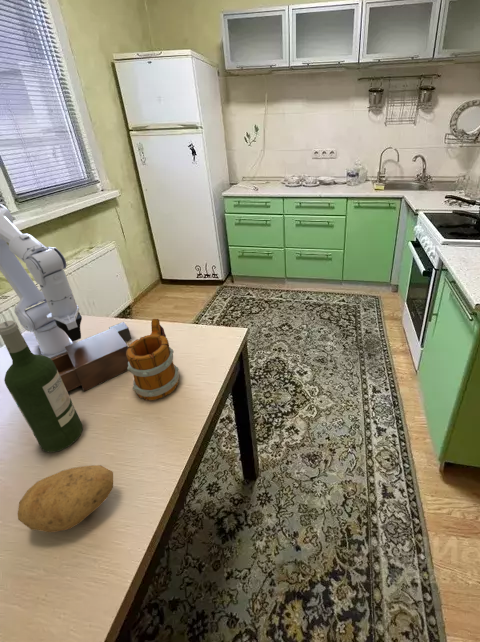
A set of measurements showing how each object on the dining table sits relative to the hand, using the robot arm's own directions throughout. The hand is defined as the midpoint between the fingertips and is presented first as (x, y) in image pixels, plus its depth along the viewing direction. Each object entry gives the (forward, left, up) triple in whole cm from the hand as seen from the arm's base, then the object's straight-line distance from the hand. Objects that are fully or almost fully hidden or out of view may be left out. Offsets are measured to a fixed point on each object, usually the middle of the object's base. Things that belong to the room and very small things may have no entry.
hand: (76, 338), depth 88 cm
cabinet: (+5, +3, -9) cm, 11 cm away
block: (-5, +11, -9) cm, 15 cm away
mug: (+20, +13, -9) cm, 26 cm away
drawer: (+5, -7, -8) cm, 12 cm away
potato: (+41, -11, -9) cm, 44 cm away
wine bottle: (+22, -10, -9) cm, 26 cm away
